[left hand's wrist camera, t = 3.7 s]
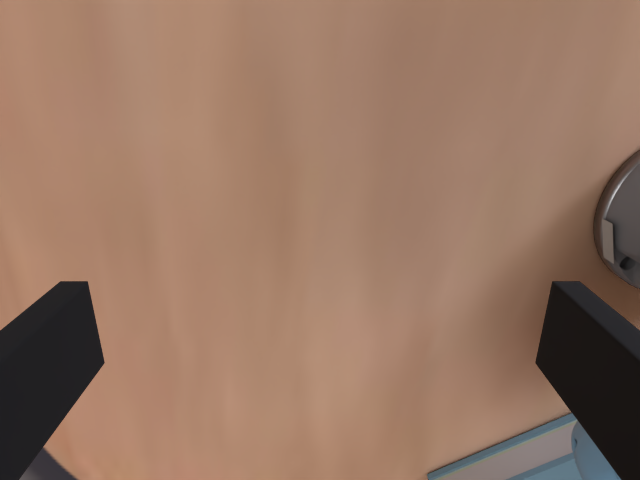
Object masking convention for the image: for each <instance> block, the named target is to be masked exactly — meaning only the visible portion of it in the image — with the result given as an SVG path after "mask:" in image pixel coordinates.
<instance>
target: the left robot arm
mask: <svg viewBox="0 0 640 480" xmlns="http://www.w3.org/2000/svg"><path fill="white" fill-rule="evenodd" d="M594 239H595V244H596V247H597V250H598V253H599V255H600V257H601V259H602V260H603V262H604V263H605V265H606V266H607V267H608V268H609V269H610V270H611V271H612V272H613V273H614V274H616V275H617V276H619V277H620V278H622V279H623V280H624V281H626V282H627V283H629V284H630V285H632V286H634V287H636V288H639V289H640V150H639V151H638V152H636V153H635V154H634V155H633V156H632V157H630V158H629V159H628V160H627V161H626V162H625V163H624V164H623V165H622V166H621V167H620V168H619V170H618V171H617V172H616V173H615V174H614V176H613V177H612V178H611V180H610V181H609V183H608V185H607V186H606V188H605V190H604V192H603V194H602V196H601V198H600V201H599V203H598V206H597V210H596V214H595V220H594ZM103 364H104V358H103V353H102V348H101V343H100V339H99V334H98V329H97V324H96V319H95V315H94V310H93V305H92V300H91V295H90V290H89V286H88V281H60V282H59V283H58V284H57V285H56V286H54V287H53V288H52V289H51V290H49V291H48V292H47V293H46V294H45V295H43V296H42V297H41V298H40V299H38V300H37V301H36V302H35V303H34V304H32V305H31V306H30V307H29V308H27V309H26V310H25V311H24V312H23V313H21V314H20V315H19V316H18V317H16V318H15V319H14V320H13V321H12V322H10V323H9V324H8V325H7V326H5V327H4V328H3V329H2V330H1V331H0V480H19V479H20V477H21V476H22V475H23V473H24V472H25V471H26V469H27V468H28V467H29V465H30V464H31V462H32V461H33V460H34V458H35V457H36V456H37V454H38V453H39V452H40V450H41V449H42V448H43V446H44V445H45V443H46V442H47V441H48V439H49V438H50V437H51V435H52V434H53V433H54V431H55V430H56V428H57V427H58V426H59V424H60V423H61V422H62V420H63V419H64V418H65V416H66V415H67V413H68V412H69V411H70V409H71V408H72V407H73V405H74V404H75V403H76V401H77V400H78V398H79V397H80V396H81V394H82V393H83V392H84V390H85V389H86V388H87V386H88V385H89V383H90V382H91V381H92V379H93V378H94V377H95V375H96V374H97V373H98V371H99V370H100V368H101V367H102V366H103ZM536 364H537V366H538V367H539V368H540V370H541V371H542V373H543V374H544V375H545V377H546V378H547V379H548V381H549V382H550V383H551V385H552V386H553V388H554V389H555V390H556V392H557V393H558V394H559V396H560V397H561V398H562V400H563V401H564V403H565V404H566V405H567V407H568V408H569V409H570V411H571V412H572V413H573V415H574V416H575V418H576V419H577V420H578V421H577V422H576V424H575V425H574V427H573V430H572V434H571V444H572V447H571V448H572V451H573V454H574V459H575V463H576V466H577V469H578V471H579V473H580V476H581V478H582V480H640V331H639V330H638V329H637V328H636V327H635V326H633V325H632V324H631V323H630V322H628V321H627V320H626V319H625V318H624V317H622V316H621V315H620V314H619V313H617V312H616V311H615V310H614V309H613V308H611V307H610V306H609V305H608V304H606V303H605V302H604V301H603V300H602V299H600V298H599V297H598V296H597V295H595V294H594V293H593V292H592V291H591V290H589V289H588V288H587V287H586V286H584V285H583V284H582V283H581V282H580V281H552V286H551V290H550V295H549V300H548V305H547V310H546V315H545V319H544V324H543V329H542V334H541V339H540V343H539V348H538V353H537V358H536Z"/></svg>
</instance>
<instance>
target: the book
mask: <svg viewBox="0 0 640 480" xmlns="http://www.w3.org/2000/svg"><path fill="white" fill-rule="evenodd" d="M577 421H578V420H577V419H576V418H575V416H574V415H573V413H571V414H569V415H566V416H564V417H561V418H559V419H557V420H554V421H552V422H550V423H547V424H545V425H543V426H540V427H538V428H536V429H533V430H531V431H528V432H526V433H524V434H521V435H519V436H517V437H514V438H512V439H510V440H507V441H505V442H502V443H500V444H498V445H495V446H493V447H491V448H488V449H486V450H484V451H481V452H479V453H476V454H474V455H472V456H469V457H467V458H465V459H462V460H460V461H458V462H455V463H453V464H450V465H448V466H446V467H443V468H441V469H439V470H436V471H434V472H432V473H429V474H427V476H428V480H582V478H581V476H580V473H579V471H578V469H577V466H576V463H575V459H574V454H573V451H572V448H571V447H572V444H571V434H572V430H573V427H574V425H575V424H576V422H577Z"/></svg>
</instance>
